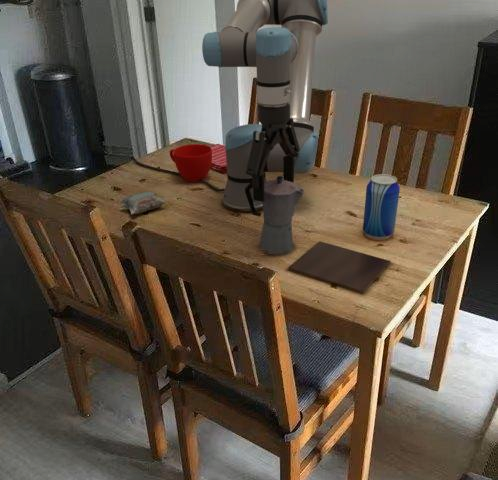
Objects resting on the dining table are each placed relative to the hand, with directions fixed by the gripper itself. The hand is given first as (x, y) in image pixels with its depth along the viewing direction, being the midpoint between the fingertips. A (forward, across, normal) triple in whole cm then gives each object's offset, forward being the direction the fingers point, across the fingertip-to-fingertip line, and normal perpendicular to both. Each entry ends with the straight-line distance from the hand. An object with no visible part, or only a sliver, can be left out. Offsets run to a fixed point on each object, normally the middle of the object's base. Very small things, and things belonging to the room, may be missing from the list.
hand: (274, 190), depth 134 cm
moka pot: (+16, 0, 0) cm, 16 cm away
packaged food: (+16, -1, +47) cm, 50 cm away
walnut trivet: (+16, 0, -19) cm, 25 cm away
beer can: (+16, +21, -20) cm, 33 cm away
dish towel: (+16, +46, +53) cm, 72 cm away
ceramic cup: (+16, +27, +52) cm, 61 cm away
